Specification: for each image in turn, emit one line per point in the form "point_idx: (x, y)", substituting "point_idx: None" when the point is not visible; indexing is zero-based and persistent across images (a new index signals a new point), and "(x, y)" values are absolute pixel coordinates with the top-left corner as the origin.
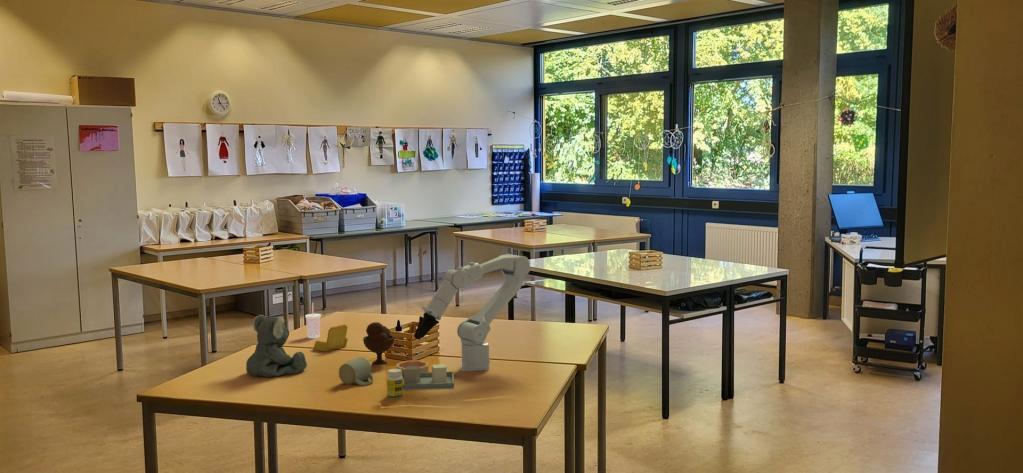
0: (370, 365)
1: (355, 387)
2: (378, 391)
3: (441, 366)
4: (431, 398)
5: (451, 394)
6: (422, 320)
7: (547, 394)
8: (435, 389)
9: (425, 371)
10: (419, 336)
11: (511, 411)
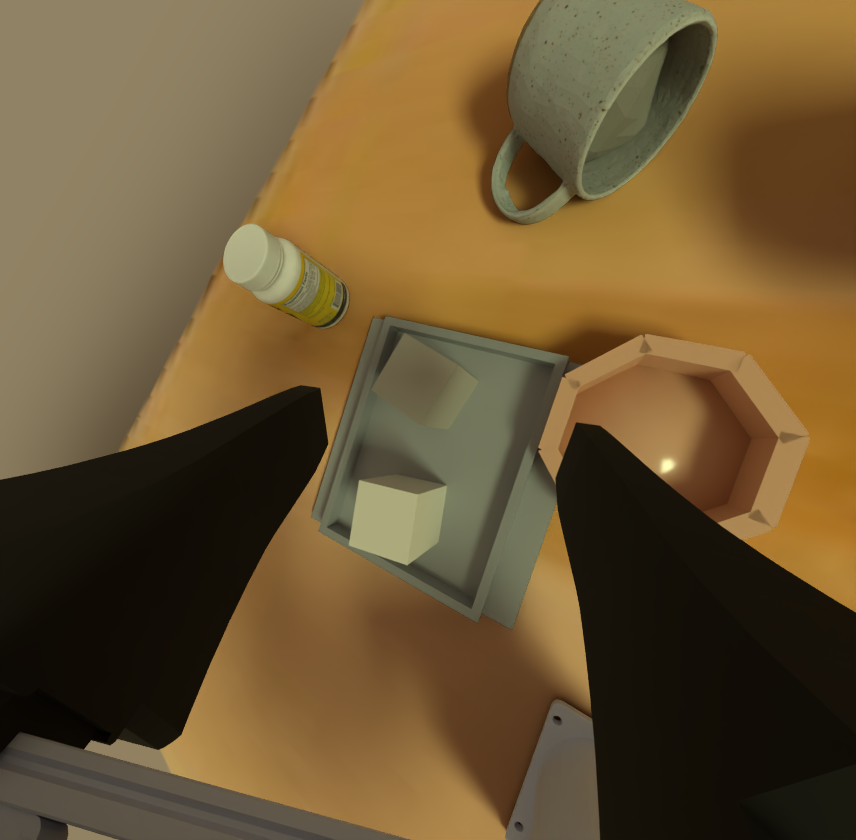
0: (581, 153)
1: None
2: (416, 250)
3: (371, 529)
4: None
5: None
6: (715, 694)
7: (178, 759)
8: (332, 452)
9: None
10: (567, 489)
11: None
